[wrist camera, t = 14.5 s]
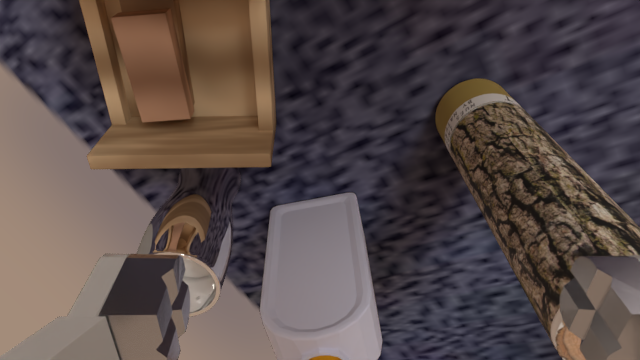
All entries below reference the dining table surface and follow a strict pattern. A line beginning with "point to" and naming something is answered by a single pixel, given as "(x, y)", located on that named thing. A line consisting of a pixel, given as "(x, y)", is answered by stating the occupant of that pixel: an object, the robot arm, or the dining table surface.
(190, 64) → the tray
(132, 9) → the offcut
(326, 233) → the soap bottle
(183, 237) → the beer glass
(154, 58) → the offcut
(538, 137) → the brown bark cylinder
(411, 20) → the dining table surface
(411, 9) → the dining table surface
